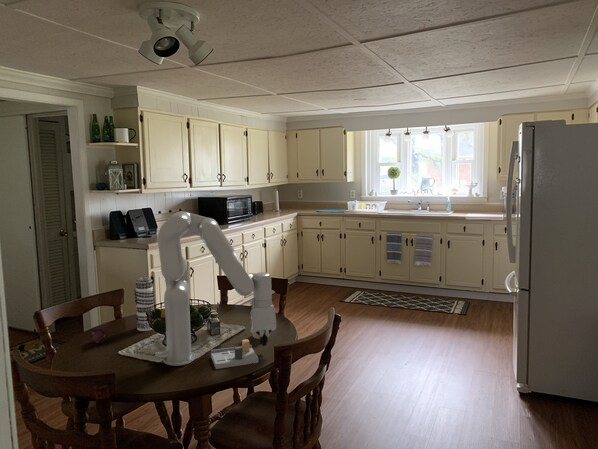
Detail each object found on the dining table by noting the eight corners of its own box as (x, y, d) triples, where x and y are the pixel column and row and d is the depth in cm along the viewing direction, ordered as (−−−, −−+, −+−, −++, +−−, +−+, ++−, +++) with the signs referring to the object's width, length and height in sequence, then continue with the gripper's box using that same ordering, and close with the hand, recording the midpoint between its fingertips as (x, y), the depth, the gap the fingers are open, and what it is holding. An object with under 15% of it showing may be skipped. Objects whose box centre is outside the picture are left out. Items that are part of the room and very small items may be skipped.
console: (215, 369, 178) (215, 361, 177) (211, 357, 189) (210, 350, 189) (258, 362, 184) (258, 355, 183) (251, 351, 195) (251, 344, 194)
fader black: (236, 359, 181) (236, 349, 181) (234, 356, 184) (234, 346, 184) (242, 358, 182) (242, 348, 181) (240, 355, 185) (240, 345, 184)
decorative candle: (133, 327, 224) (130, 277, 221) (151, 323, 230) (149, 274, 227) (140, 332, 218) (137, 281, 214) (158, 328, 223) (156, 278, 220)
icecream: (102, 334, 198) (114, 325, 213) (85, 330, 197) (99, 322, 212) (98, 350, 198) (111, 340, 213) (81, 346, 198) (95, 336, 213)
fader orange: (243, 351, 189) (243, 342, 188) (242, 349, 192) (241, 339, 191) (249, 351, 190) (249, 341, 189) (247, 348, 193) (247, 338, 192)
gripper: (247, 307, 185) (248, 350, 187) (282, 303, 190) (283, 345, 192) (243, 302, 192) (244, 344, 194) (277, 298, 197) (278, 339, 199)
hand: (263, 344), depth 193 cm, fingers closed
